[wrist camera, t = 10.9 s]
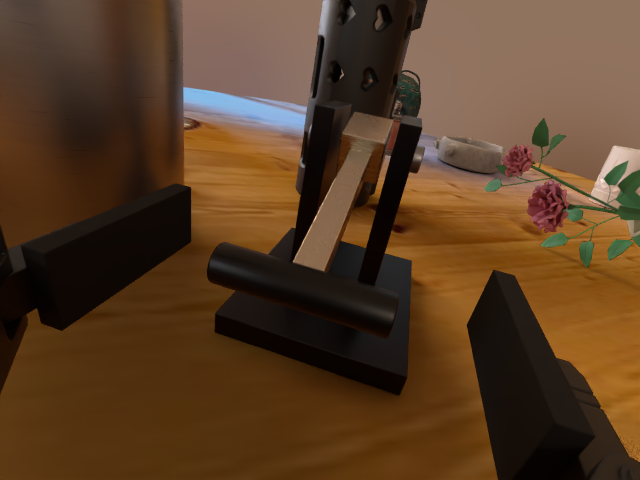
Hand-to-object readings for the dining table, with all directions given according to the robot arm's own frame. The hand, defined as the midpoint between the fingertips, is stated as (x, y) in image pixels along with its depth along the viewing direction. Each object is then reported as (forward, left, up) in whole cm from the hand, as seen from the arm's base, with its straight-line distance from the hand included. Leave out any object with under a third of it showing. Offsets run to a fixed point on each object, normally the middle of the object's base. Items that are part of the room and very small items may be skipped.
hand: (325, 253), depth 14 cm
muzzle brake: (-27, +5, -7) cm, 28 cm away
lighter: (-59, +20, -7) cm, 62 cm away
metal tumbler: (-12, -15, -7) cm, 20 cm away
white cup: (-41, +59, -7) cm, 72 cm away
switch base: (-6, +2, -7) cm, 9 cm away
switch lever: (-2, +1, +1) cm, 2 cm away
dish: (-57, +38, -7) cm, 68 cm away
